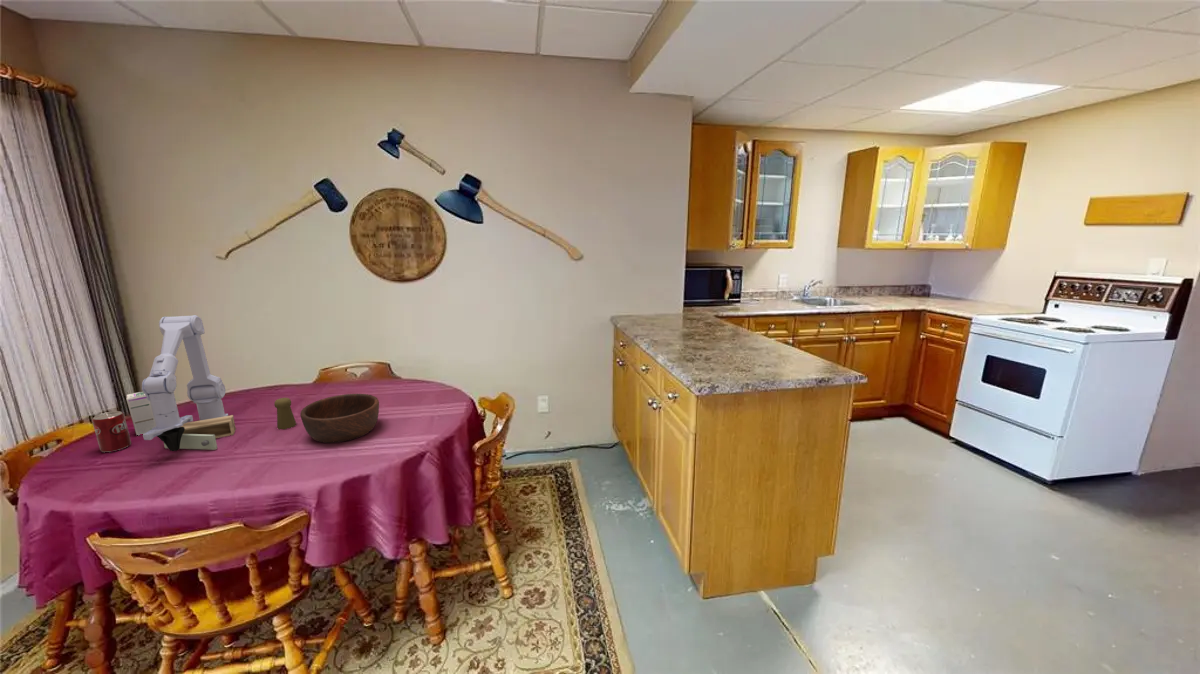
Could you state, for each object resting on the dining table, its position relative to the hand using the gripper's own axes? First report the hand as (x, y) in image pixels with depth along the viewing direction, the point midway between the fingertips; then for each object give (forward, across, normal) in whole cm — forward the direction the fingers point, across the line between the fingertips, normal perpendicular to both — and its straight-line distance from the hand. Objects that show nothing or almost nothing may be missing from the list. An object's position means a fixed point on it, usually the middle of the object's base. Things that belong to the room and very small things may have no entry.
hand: (174, 450), depth 147 cm
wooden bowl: (+2, +21, -44) cm, 49 cm away
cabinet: (+2, +13, +3) cm, 13 cm away
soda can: (+2, +4, +24) cm, 25 cm away
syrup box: (+2, +16, +27) cm, 32 cm away
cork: (+2, +24, -20) cm, 31 cm away
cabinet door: (+2, +4, -1) cm, 4 cm away
